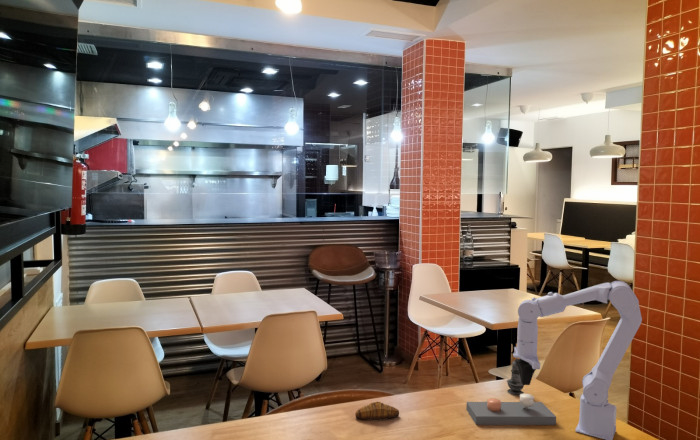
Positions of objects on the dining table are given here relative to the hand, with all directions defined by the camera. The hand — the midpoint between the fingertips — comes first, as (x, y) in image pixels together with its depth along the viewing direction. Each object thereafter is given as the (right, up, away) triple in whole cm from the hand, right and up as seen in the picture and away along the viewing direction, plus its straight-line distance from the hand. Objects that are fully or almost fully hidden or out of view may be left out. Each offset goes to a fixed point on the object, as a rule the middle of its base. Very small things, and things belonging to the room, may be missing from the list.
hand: (525, 384), depth 148 cm
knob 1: (-10, -9, 0) cm, 13 cm away
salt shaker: (+3, -10, +19) cm, 22 cm away
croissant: (-45, -10, -2) cm, 46 cm away
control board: (-5, -10, +1) cm, 11 cm away
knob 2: (0, -8, +1) cm, 8 cm away
